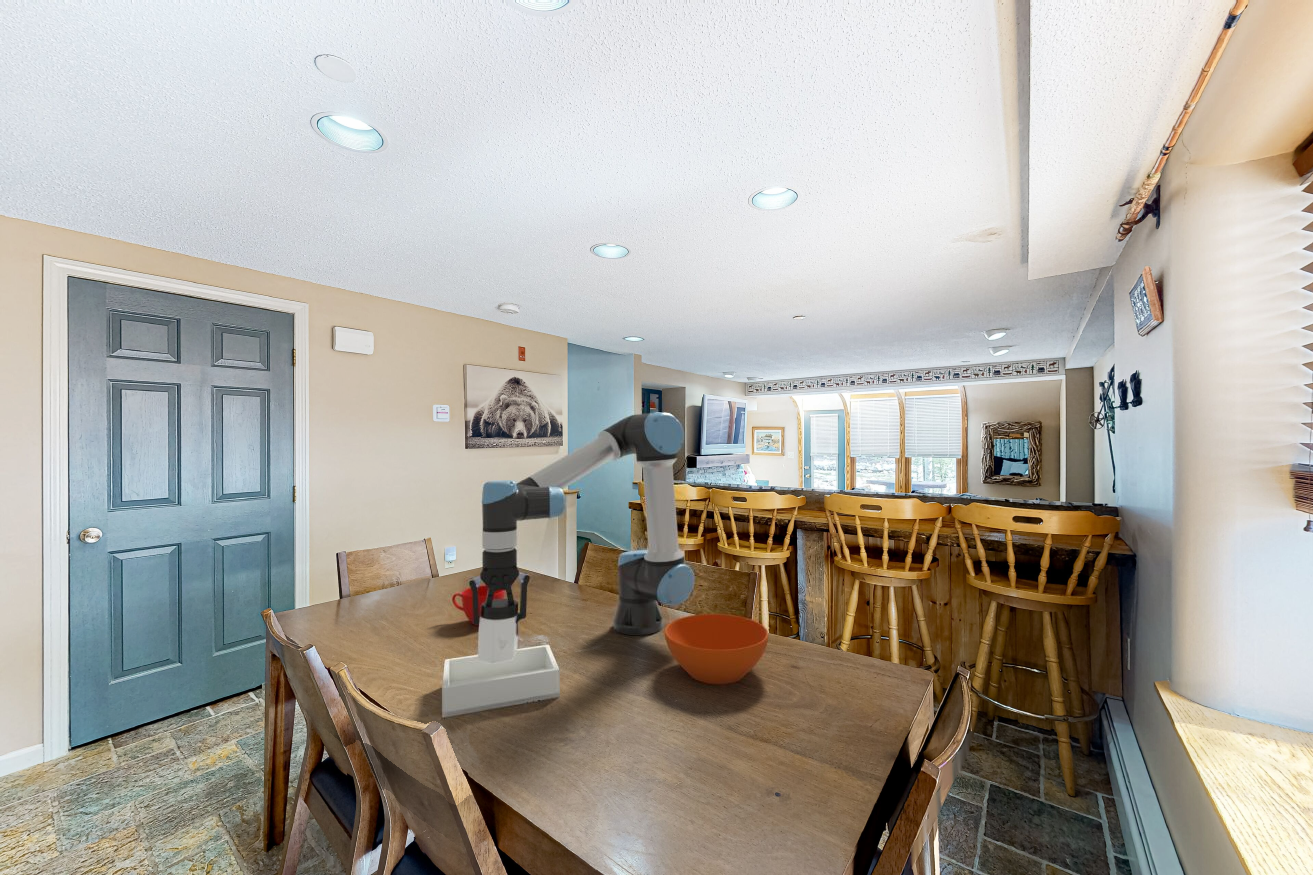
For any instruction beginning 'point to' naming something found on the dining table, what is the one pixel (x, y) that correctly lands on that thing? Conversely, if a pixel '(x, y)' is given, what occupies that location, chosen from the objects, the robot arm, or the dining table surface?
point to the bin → (499, 681)
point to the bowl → (716, 646)
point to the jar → (498, 631)
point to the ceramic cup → (468, 600)
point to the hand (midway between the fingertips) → (500, 651)
